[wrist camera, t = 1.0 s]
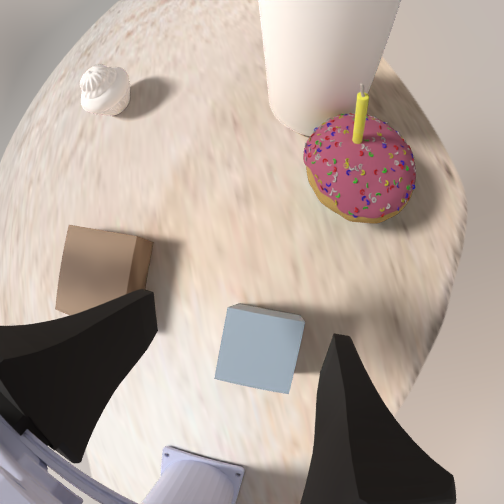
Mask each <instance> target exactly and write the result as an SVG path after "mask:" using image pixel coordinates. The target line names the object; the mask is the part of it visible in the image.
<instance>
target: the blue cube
mask: <svg viewBox="0 0 504 504" xmlns="http://www.w3.org/2000/svg"><path fill="white" fill-rule="evenodd" d="M304 325H305V321H304V320H303V318H302V317H301V316H300V315H297V314H291V313H286V312H280V311H275V310H270V309H264V308H259V307H254V306H249V305H244V304H236V305H233V306H230V307H228V309H227V314H226V319H225V324H224V330H223V335H222V340H221V346H220V351H219V356H218V362H217V367H216V373H215V378H214V379H217V380H221V381H226V382H230V383H234V384H239V385H243V386H248V387H253V388H258V389H263V390H268V391H274V392H279V393H285V394H289V391H290V387H291V382H292V378H293V374H294V370H295V366H296V361H297V357H298V353H299V348H300V344H301V339H302V334H303V330H304Z"/></svg>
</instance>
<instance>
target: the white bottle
mask: <svg viewBox="0 0 504 504" xmlns="http://www.w3.org/2000/svg"><path fill="white" fill-rule="evenodd" d="M400 2H401V0H258V3H259V11H260V20H261V28H262V37H263V46H264V55H265V65H266V74H267V85H268V95H269V104H270V107H271V110H272V112H273V114H274V115H275V117H276V118H277V119H278V120H279V121H280V122H281V123H282V124H283V125H285V126H286V127H287V128H289V129H291V130H293V131H295V132H297V133H299V134H303V135H306V136H311V135H312V133H313V131H314V129H315V128H316V127H317V128H318V127H319V126H320V125H322V124H323V123H324V122H326V120H327V119H328V118H333V117H335V116H338V115H340V114H348V113H352V114H355V112H356V102H357V94H358V93H359V92H361V91H360V90H361V87H360V84H361V83H362V84H363V85H364V92H365V93H367V94H368V92H369V89H370V87H371V84H372V81H373V79H374V76H375V73H376V71H377V68H378V65H379V63H380V60H381V57H382V54H383V52H384V49H385V46H386V43H387V40H388V38H389V35H390V32H391V29H392V26H393V23H394V20H395V17H396V14H397V11H398V8H399V5H400ZM315 130H316V129H315Z"/></svg>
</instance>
